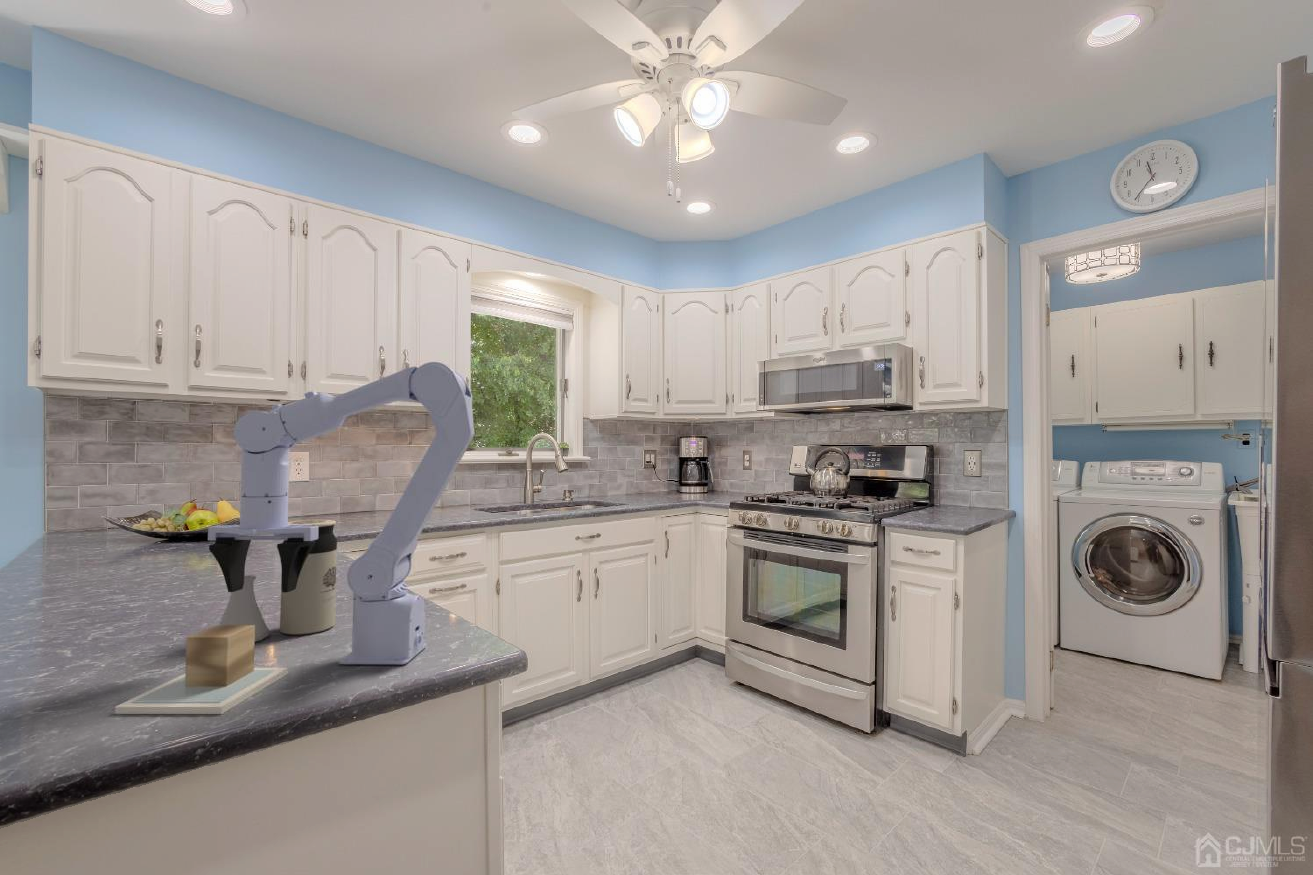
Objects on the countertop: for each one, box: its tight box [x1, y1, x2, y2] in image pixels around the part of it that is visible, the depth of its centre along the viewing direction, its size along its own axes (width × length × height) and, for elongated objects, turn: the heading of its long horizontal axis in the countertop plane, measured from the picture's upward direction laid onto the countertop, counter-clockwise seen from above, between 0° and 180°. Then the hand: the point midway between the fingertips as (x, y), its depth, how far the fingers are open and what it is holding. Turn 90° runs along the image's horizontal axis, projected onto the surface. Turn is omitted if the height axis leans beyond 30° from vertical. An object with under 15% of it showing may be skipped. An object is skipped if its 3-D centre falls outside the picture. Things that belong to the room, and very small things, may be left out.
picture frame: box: [114, 667, 289, 715], centre depth 71 cm, size 12×12×1 cm
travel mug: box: [279, 519, 338, 636], centre depth 97 cm, size 8×8×18 cm
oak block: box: [184, 624, 256, 687], centre depth 73 cm, size 5×5×6 cm
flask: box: [218, 574, 271, 642], centre depth 91 cm, size 7×7×10 cm
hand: (262, 590), depth 82 cm, fingers open, 7 cm apart
